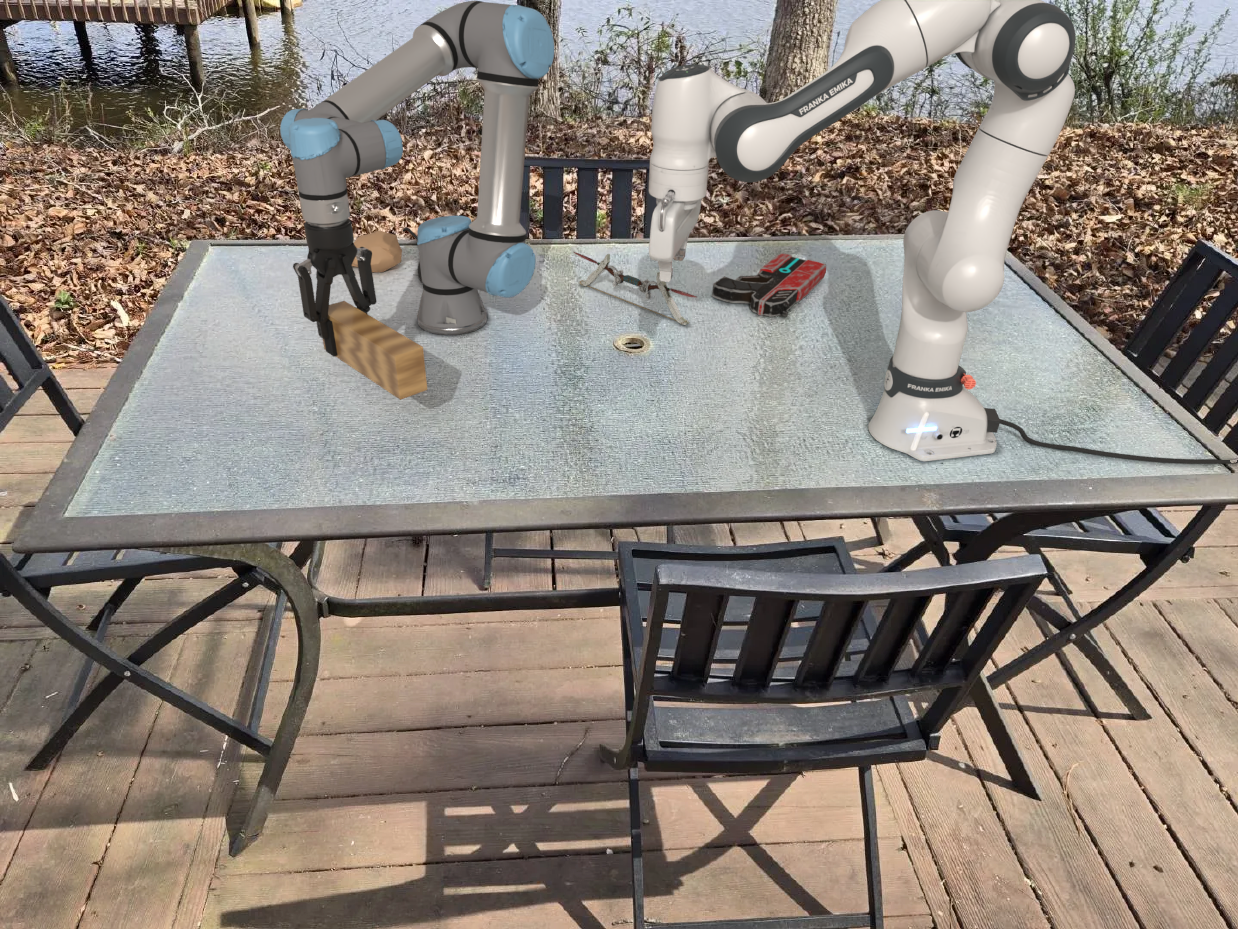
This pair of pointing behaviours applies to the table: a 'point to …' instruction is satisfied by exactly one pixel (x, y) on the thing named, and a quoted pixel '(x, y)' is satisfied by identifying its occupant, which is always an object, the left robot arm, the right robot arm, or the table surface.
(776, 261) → the gun
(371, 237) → the squash
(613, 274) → the bow
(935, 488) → the table surface
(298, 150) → the left robot arm
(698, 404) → the table surface
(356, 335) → the bar
